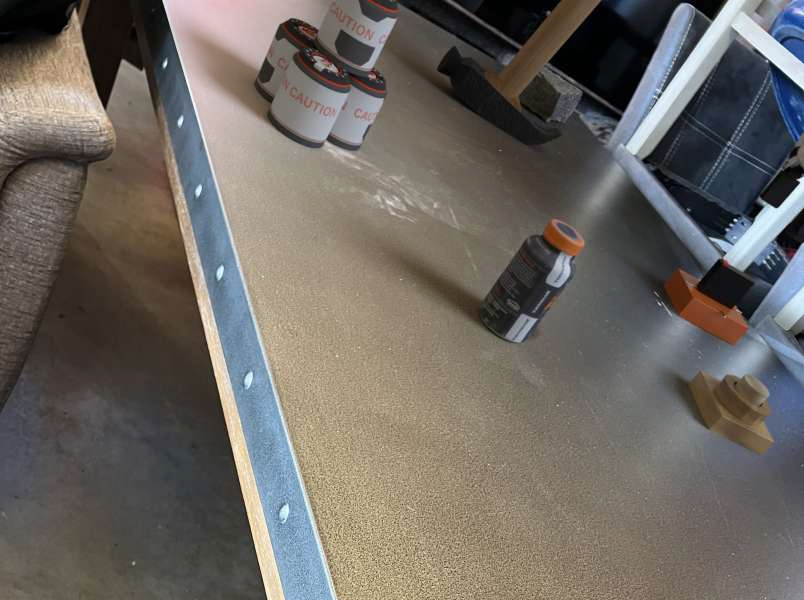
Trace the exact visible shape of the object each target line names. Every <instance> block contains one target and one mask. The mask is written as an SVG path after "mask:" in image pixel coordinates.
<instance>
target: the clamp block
mask: <svg viewBox="0 0 804 600" xmlns="http://www.w3.org/2000/svg"><path fill="white" fill-rule="evenodd" d="M700 280H701V279H698V278H696V277H695V276H693V275H692V274H690V273H687V272H686V271H684V270H682V269H681V268H679V267H678V268H677V269H676V270H675V271H674V273H673V274H672V275H671V276H670V278H669V279H668V280H667V281H666V282H665V284H664V285H663V287H664V290H665V292H666V293H667V295H668V297H669V300H670V302H671V304H672V306H673V308H674V310H675V312H676V314H677V316H678V317H679V318H681V319H683V320H685V321H687V322H689V323H691V324H693V325H695V326H697V327H698V328H699V329H702V330H704V331H706V332H708V333H709V334H711V335H713V336H714V337H716V338H719V339H720V340H722V341H724V342H726V343H728V344H729V345H731V346H735V345H736V343H738V341H739V340H741V338H742V337H743V336H744V334H746V332H747V331H749V330H750V328H749V326H748V324H747V322H746V321H745V319H744V317H743V316H742V314H743V312H742V311H740V310H739V308H738V306H737V304H736V305H735V306H734V307H733V309H730V308H728V307H726V306H724V305H722V304H721V303H719V302H717V301H715V300H714V299H712V298H710V297H708V296H706V295H705V294H703V293H701V292H699V290H698V288H697V287H696V285H697V284H698V283H699V281H700Z"/></svg>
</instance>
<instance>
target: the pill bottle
mask: <svg viewBox="0 0 804 600" xmlns="http://www.w3.org/2000/svg"><path fill="white" fill-rule="evenodd" d="M584 246H585V240H584V238H583V237H582V236H581V234H580V233H579V232H578V231H577V230H575V228H573V227H572V226H570V225H569V224H567V223H566V222H564V221H561V220H559V219H556V218H552V219H550V221H549V222H548V223H547V225H546V226H545V227H544V229H543V231H542V234H532V235H529V236H528V237H526V238H525V240H524V241H523V242H522V244H521V245H520V247H519V248H518V249H517V251H516V252H515V253H514V255H513V256H512V257H511V259H510V260H509V262H508V264H507V265H506V267H505V268H504V269H503V271H502V272H501V274H500V275H499V277H498V278H497V280H496V281H495V283H494V284H493V285H492V287H491V289H490V290H489V292H488V293H487V294H486V296H485V297H484V299H483V300H482V302H481V303H480V305H479V307H478V314H479V316H480V319H481V320H482V322H483V323H484V324H485V325H486V326H487V328H489V330H491V331H492V332H494V333H495V334H496V335H497V336H499V337H501V338H502V339H504V340H506V341H508V342H511V343H517V344H522V343H525V342H526V341H527V340H528V339H529V338H530V336H531V335H532V333H533V332H534V331H535V330H536V328H537V327H538V326H539V324H540V323H541V322H542V320H543V318H544V317H545V316H546V315H547V313H548V312H549V310H550V309H551V308H552V307H553V305H554V304H555V303H556V301H557V300H558V298H559V297H560V295H562V293H563V292H564V290H565V289H566V287H567V286H568V285H569V283H570V282H571V281H572V279H573V278H574V277H575V275H576V272H577V265H576V263H575V258H576V257H577V256H579V254H580V252H581V250H582V249H583V248H584Z"/></svg>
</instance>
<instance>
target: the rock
mask: <svg viewBox="0 0 804 600" xmlns="http://www.w3.org/2000/svg"><path fill="white" fill-rule="evenodd" d="M582 96H583V91H582V90H581V89H579V88H578V87H576V85H574V84H571V83H570V82H568V81H567V80H566V79H563V78H562V77H561V75H560V74H556V73H554V72H553V71H552V70H550V69H549V68H548V67H546V66H544V67H543V68H542V69H541V70H540V72H539V73H538V74H537V75H536V76H535V77H534V79H533V80H532V81H531V82H530V83H529V84H528V85H527V87H526V88H525V89H524V90H523V91H522V92H521V94H520V95H519V100H520V104H521V105H524V106H525V107H527V108H528V109H529V110H530V111H531V112H532V113H534V114H537V115H538V116H540V117H541V119H542V120H543V121H544V122H546V123H550V122H551V121H552V120H553V121H554V122H556V121H557V122H558V123H563V124H566V122H567V120H568V119H569V118H570V116H571V115H572V114H573V112H574V110H575V109H576V108H577V106H578V103H579V102H580V100H581V99H582Z"/></svg>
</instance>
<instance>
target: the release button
mask: <svg viewBox="0 0 804 600" xmlns="http://www.w3.org/2000/svg"><path fill="white" fill-rule="evenodd" d="M734 387H735V389H736V390H737V391H738V392H739V393H740V395H741V396H742V397H743V398H745V399H746V400H747V401H749V402H750V403H751V404H753V405H755V406H757V407H759V406H760V405H761V404H762V402H763V401H764V400H765V399H766V400H767V399H768V398H769V397H770V391H769V389H768V388H767V387H766V385H764V384H763V383H762V381H760V380H759V379H757V378H756V377H754V376H753V375H750V374H749V373H747V374H744V375H743V376H742V377H741V379H740V380H739V381H738V383H737V384H736V385H735V386H734Z"/></svg>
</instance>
